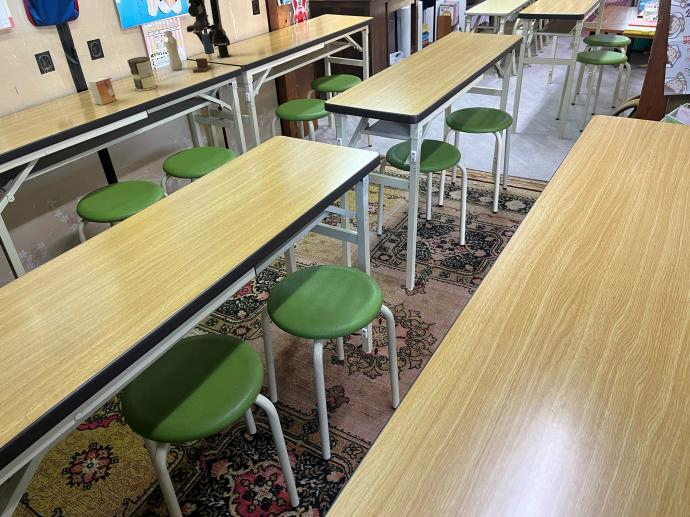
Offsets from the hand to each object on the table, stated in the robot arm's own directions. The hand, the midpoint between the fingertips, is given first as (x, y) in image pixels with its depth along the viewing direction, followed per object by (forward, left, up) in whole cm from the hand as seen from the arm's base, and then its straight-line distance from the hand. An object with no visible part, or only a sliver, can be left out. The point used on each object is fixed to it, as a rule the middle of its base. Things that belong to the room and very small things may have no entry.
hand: (208, 44), depth 286 cm
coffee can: (+17, -43, -12) cm, 47 cm away
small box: (+27, -65, -12) cm, 71 cm away
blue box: (0, 0, 0) cm, 0 cm away
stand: (+5, -8, -11) cm, 15 cm away
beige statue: (-9, -18, -12) cm, 23 cm away
